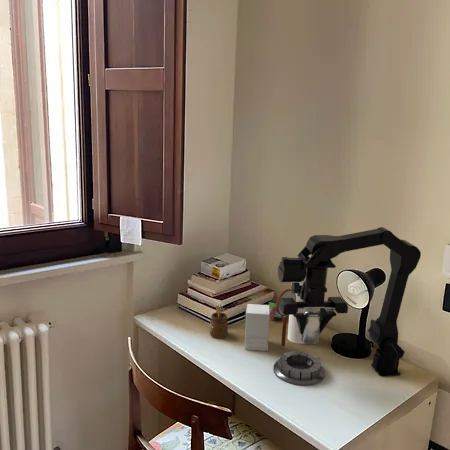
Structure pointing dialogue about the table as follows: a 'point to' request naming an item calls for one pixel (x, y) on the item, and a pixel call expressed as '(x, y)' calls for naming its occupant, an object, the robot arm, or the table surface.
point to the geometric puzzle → (273, 310)
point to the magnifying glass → (284, 294)
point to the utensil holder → (218, 324)
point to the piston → (311, 326)
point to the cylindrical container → (295, 325)
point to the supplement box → (257, 327)
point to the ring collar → (299, 369)
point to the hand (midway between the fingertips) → (310, 333)
